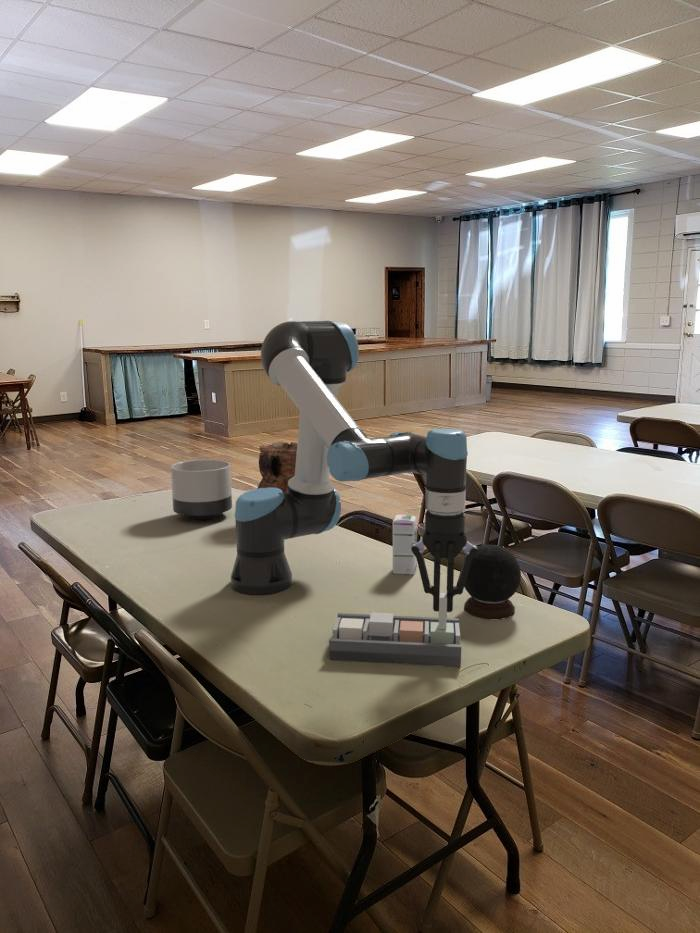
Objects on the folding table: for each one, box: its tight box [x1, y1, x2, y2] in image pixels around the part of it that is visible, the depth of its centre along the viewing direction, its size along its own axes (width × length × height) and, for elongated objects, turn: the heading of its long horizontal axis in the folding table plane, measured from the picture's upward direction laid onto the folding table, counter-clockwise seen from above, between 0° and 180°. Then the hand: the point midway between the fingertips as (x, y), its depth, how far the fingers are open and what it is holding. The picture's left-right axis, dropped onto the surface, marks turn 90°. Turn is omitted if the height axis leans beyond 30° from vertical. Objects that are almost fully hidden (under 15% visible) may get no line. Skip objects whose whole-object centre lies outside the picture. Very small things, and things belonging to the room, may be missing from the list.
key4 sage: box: [430, 622, 454, 644], centre depth 138 cm, size 4×4×2 cm
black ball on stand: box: [463, 544, 522, 620], centre depth 157 cm, size 13×13×15 cm
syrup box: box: [392, 514, 418, 576], centre depth 181 cm, size 6×6×14 cm
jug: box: [257, 441, 298, 492], centre depth 230 cm, size 22×21×25 cm
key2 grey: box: [369, 612, 394, 634], centre depth 139 cm, size 4×4×2 cm
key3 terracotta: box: [400, 621, 423, 643], centre depth 139 cm, size 4×4×2 cm
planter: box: [170, 459, 233, 521], centre depth 233 cm, size 19×19×18 cm
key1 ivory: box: [339, 618, 364, 640], centre depth 140 cm, size 4×4×2 cm
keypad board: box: [328, 612, 462, 667], centre depth 139 cm, size 25×13×4 cm, turn 83°
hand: (442, 626), depth 138 cm, fingers closed
